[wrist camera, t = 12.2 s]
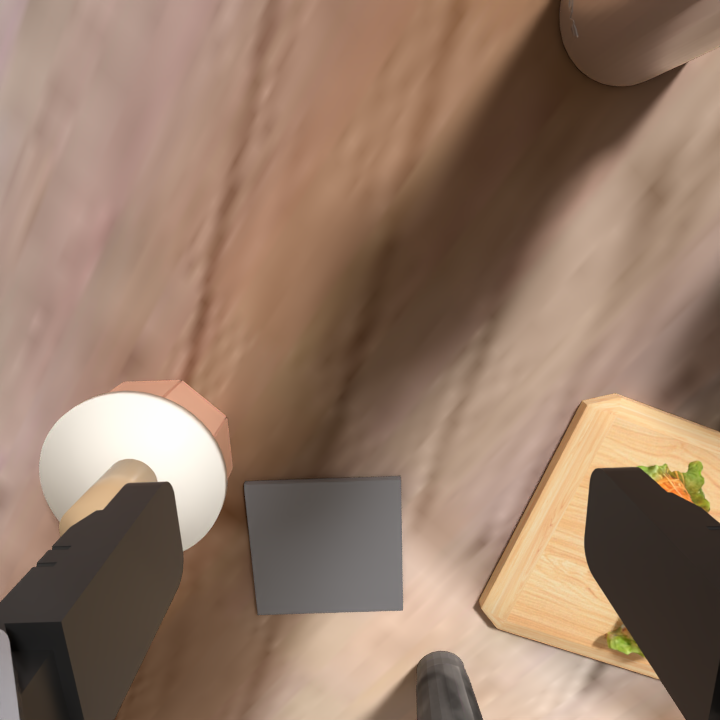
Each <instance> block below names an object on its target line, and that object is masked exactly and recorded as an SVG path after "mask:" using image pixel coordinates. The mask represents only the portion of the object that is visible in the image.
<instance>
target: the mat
mask: <svg viewBox="0 0 720 720" xmlns="http://www.w3.org/2000/svg"><path fill="white" fill-rule="evenodd" d="M244 491H245V501H246V510H247V519H248V528H249V538H250V547H251V556H252V566H253V575H254V584H255V593H256V603H257V612H258V615H274V614H305V613H337V612H369V611H401V610H403V582H402V519H401V477H400V476H388V477H358V478H328V479H298V480H268V481H245V483H244Z"/></svg>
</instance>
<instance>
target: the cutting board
mask: <svg viewBox="0 0 720 720" xmlns="http://www.w3.org/2000/svg"><path fill="white" fill-rule="evenodd" d="M615 467H639V468H641V469H642V470H643V471H644V472H646V473H647V474H648V475H649V476H650V477H651V478H652V479H653V480H655V481H656V482H657V483H658V484H659V485H660V486H661V487H662V488H663V489H665V490H666V491H667V492H672V493H674V494H676V495H678V496H680V497H682V498H684V499H686V500H688V501H690V502H692V503H694V504H696V505H698V506H700V507H701V508H703V509H704V510H705V511H706V512H707V513H708V514H710V515H711V516H712V517H713V518H714V519H716V520H717V521H718V522H719V523H720V432H719V431H716V430H714V429H711V428H708V427H705V426H703V425H700V424H697V423H695V422H692V421H689V420H686V419H684V418H681V417H678V416H676V415H673V414H670V413H667V412H665V411H662V410H659V409H657V408H654V407H651V406H648V405H646V404H643V403H640V402H638V401H635V400H632V399H630V398H627V397H624V396H621V395H619V394H616V393H615V394H610V395H606V396H601V397H597V398H592V399H587V400H583V401H582V402H581V404H580V406H579V408H578V410H577V411H576V413H575V415H574V417H573V419H572V421H571V423H570V425H569V427H568V429H567V431H566V433H565V435H564V437H563V439H562V440H561V442H560V444H559V446H558V448H557V450H556V452H555V454H554V456H553V458H552V460H551V462H550V464H549V466H548V468H547V469H546V471H545V473H544V475H543V477H542V479H541V481H540V483H539V485H538V487H537V489H536V491H535V493H534V495H533V496H532V498H531V500H530V502H529V504H528V506H527V508H526V510H525V512H524V514H523V516H522V518H521V520H520V522H519V524H518V525H517V527H516V529H515V531H514V533H513V535H512V537H511V539H510V541H509V543H508V545H507V547H506V549H505V551H504V553H503V554H502V556H501V558H500V560H499V562H498V564H497V566H496V568H495V570H494V572H493V574H492V576H491V578H490V580H489V581H488V583H487V585H486V587H485V589H484V591H483V593H482V595H481V597H480V599H479V603H480V606H481V609H482V610H483V611H484V613H485V614H486V615H487V616H488V618H489V619H490V620H491V621H492V623H493V624H494V625H495V627H496V628H497V629H500V630H503V631H506V632H509V633H512V634H516V635H519V636H522V637H525V638H528V639H532V640H535V641H538V642H541V643H544V644H548V645H551V646H554V647H557V648H560V649H564V650H567V651H570V652H573V653H576V654H580V655H583V656H586V657H589V658H592V659H596V660H599V661H602V662H605V663H608V664H612V665H615V666H618V667H621V668H624V669H628V670H631V671H634V672H637V673H640V674H644V675H647V676H650V677H653V678H656V679H659V678H658V676H657V674H656V673H655V671H654V670H653V668H652V667H651V665H650V664H649V662H648V661H647V659H646V658H645V656H644V654H643V653H642V651H641V650H640V648H639V647H638V645H637V644H636V642H635V641H634V639H633V637H632V636H631V634H630V633H629V631H628V630H627V628H626V627H625V625H624V624H623V622H622V621H621V619H620V617H619V616H618V614H617V613H616V611H615V610H614V608H613V607H612V605H611V604H610V602H609V601H608V599H607V597H606V596H605V594H604V593H603V591H602V590H601V588H600V587H599V585H598V584H597V582H596V581H595V579H594V577H593V576H592V574H591V572H590V570H589V567H588V564H587V561H586V556H585V550H584V535H585V525H586V514H587V504H588V493H589V483H590V477H591V474H592V472H593V470H595V469H596V468H615Z"/></svg>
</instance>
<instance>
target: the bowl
mask: <svg viewBox="0 0 720 720" xmlns="http://www.w3.org/2000/svg"><path fill="white" fill-rule="evenodd" d="M114 391H140V392H147V393H151V394H155V395H158V396H162V397H164V398H167V399H169V400H171V401H174V402H175V403H177V404H179V405H181V406H183V407H184V408H186V409H187V410H188V411H190V412H191V413H193V414H194V415H195V416H196V417H197V418H198V419H199V420H200V421H202V422H203V424H204V425H205V426H206V427H207V428H208V429H209V431H210V432H211V433H212V435H213V436H214V438H215V439H216V441H217V443H218V445H219V447H220V449H221V451H222V454H223V457H224V460H225V463H226V469H227V480H228V477H229V475H230V473H231V471H232V469H233V463H232V454H231V445H230V436H229V427H228V418H225V417H226V415H224V414H223V413H222V412H221V411H219V410H218V409H217V408H216V407H215V406H213V405H212V404H211V403H210V402H208V401H207V400H206V399H205V398H203V397H202V396H201V395H200V394H199V393H197V392H196V391H195V390H194V389H192V388H191V387H190V386H189V385H188V384H186V383H185V382H184V381H182V382H180V380H160V381H131V382H124V383H121V384H120V385H119V386H117V387H116V388H114V389H113V390H111V391H110V392H114Z"/></svg>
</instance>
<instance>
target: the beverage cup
mask: <svg viewBox="0 0 720 720" xmlns="http://www.w3.org/2000/svg"><path fill="white" fill-rule="evenodd" d="M416 695H417V720H483V718H482V715H481V712H480V709H479V706H478V703H477V700H476V697H475V694H474V692H473V689H472V686H471V683H470V680H469V677H468V675H467V673H466V670H465V669H464V665H463V662H462V661H461V659H460V658H459V657H458V656H456V655H455V654H453V653H450V652H445V651H438V652H432V653H430V654H428V655H426V656H425V657H424V658H423V659H421V661H420V662H419V664H418V666H417V685H416Z"/></svg>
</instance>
